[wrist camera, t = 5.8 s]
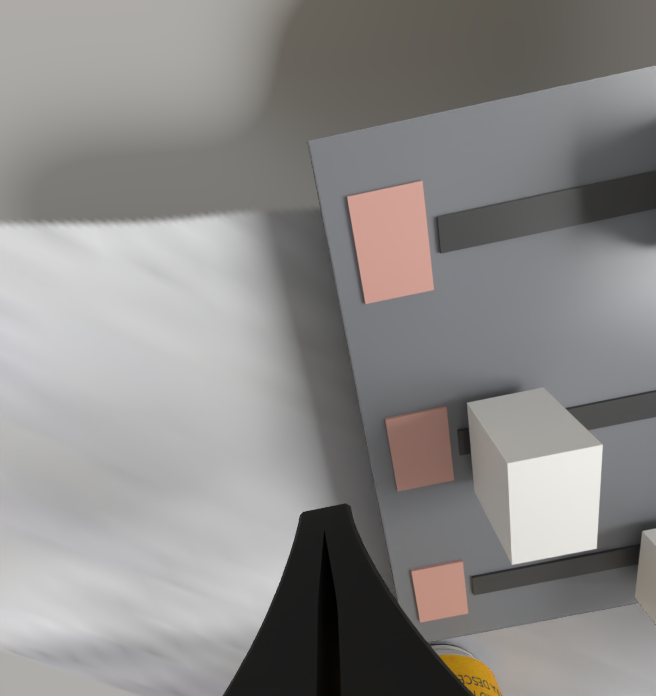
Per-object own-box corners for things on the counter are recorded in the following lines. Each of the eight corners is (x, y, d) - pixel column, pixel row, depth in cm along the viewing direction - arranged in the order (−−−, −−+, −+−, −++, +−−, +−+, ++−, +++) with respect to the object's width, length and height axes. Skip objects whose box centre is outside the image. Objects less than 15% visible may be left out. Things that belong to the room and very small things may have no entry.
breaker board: (826, 29, 13) (919, 8, 11) (719, 542, 21) (762, 582, 19) (307, 142, 13) (308, 140, 11) (398, 603, 21) (408, 648, 19)
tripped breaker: (543, 387, 14) (603, 444, 11) (543, 478, 15) (596, 548, 13) (466, 402, 14) (507, 463, 11) (474, 491, 16) (512, 564, 13)
